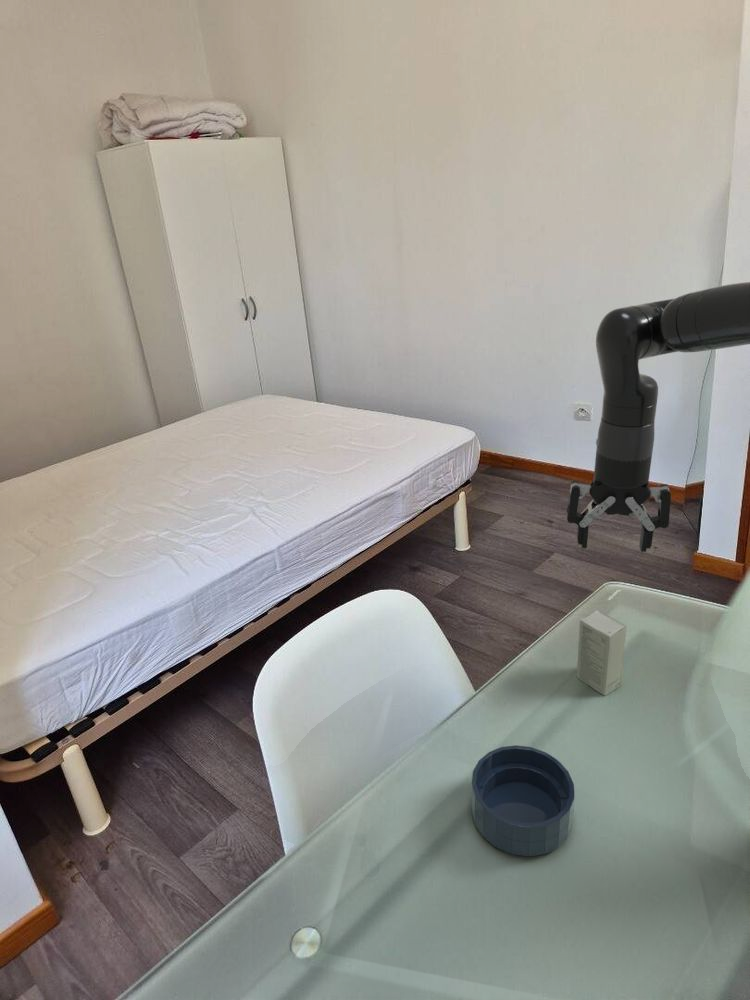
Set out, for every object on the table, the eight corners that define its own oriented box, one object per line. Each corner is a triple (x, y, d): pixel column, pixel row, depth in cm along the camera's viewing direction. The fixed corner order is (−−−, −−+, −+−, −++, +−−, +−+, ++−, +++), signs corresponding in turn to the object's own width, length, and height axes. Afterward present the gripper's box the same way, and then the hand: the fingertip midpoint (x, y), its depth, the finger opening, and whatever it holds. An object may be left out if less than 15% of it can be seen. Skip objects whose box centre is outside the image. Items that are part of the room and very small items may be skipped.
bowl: (569, 782, 98) (572, 751, 95) (572, 866, 86) (576, 834, 84) (476, 770, 100) (476, 740, 98) (467, 850, 89) (467, 818, 86)
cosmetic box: (621, 686, 115) (629, 626, 109) (603, 697, 112) (610, 637, 107) (591, 666, 119) (597, 608, 114) (573, 676, 117) (579, 618, 112)
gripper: (573, 457, 96) (565, 557, 103) (682, 460, 93) (666, 563, 100) (571, 437, 102) (564, 533, 109) (673, 440, 99) (659, 538, 106)
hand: (613, 547), depth 105 cm, fingers open, 8 cm apart
